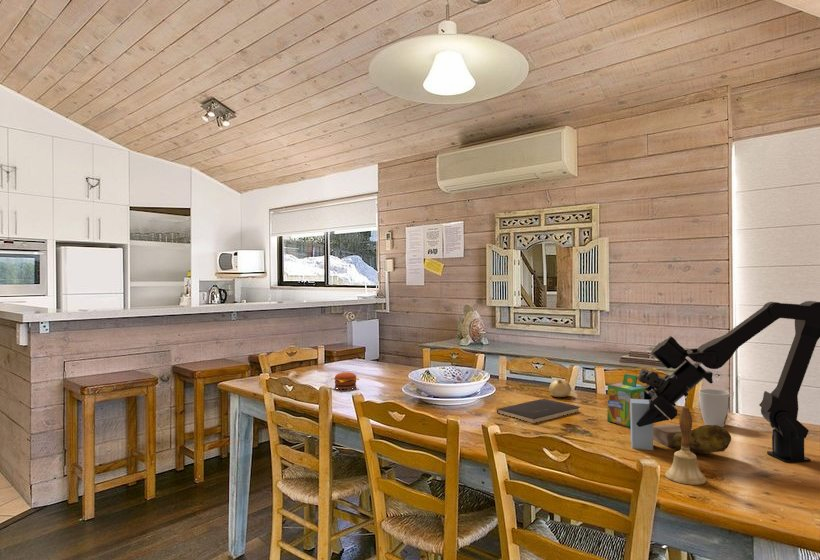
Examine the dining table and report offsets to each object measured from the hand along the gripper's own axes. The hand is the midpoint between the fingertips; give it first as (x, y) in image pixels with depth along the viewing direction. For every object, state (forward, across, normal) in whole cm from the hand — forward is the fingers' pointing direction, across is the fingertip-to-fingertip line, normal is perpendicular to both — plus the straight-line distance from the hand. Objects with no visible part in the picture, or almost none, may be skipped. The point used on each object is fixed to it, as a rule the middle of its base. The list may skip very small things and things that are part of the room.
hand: (635, 420), depth 140 cm
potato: (-6, +3, +16) cm, 17 cm away
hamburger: (+82, -49, -72) cm, 119 cm away
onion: (+20, -54, -10) cm, 59 cm away
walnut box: (-2, -6, +12) cm, 13 cm away
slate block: (+4, 0, +6) cm, 7 cm away
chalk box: (+5, -23, +5) cm, 24 cm away
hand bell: (-1, +21, +11) cm, 24 cm away
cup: (-12, -27, +22) cm, 37 cm away
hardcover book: (+25, -28, -14) cm, 40 cm away
